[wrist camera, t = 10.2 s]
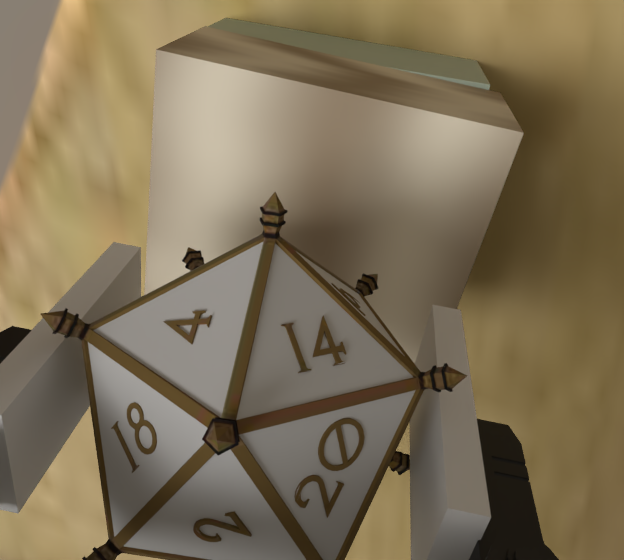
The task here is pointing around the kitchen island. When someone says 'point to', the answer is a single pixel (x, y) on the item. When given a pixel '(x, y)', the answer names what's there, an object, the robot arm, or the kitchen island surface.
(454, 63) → the lower block
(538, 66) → the kitchen island surface
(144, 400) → the game die
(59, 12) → the kitchen island surface
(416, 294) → the upper block
